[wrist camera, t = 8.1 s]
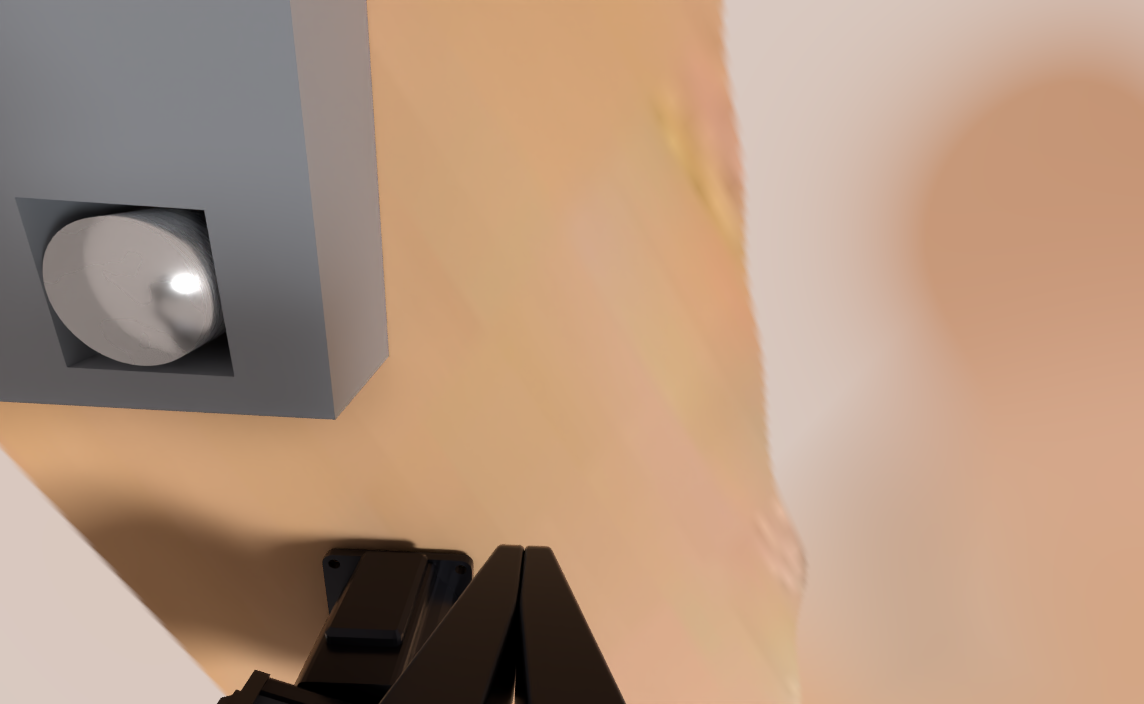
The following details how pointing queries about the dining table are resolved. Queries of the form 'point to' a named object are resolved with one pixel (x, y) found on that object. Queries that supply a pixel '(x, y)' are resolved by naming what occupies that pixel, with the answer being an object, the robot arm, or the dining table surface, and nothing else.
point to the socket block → (198, 192)
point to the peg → (136, 284)
